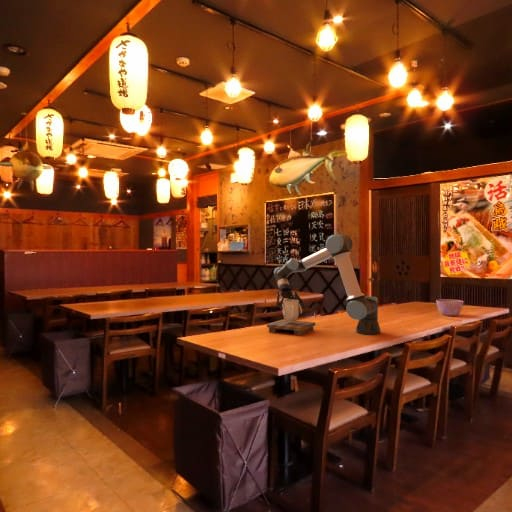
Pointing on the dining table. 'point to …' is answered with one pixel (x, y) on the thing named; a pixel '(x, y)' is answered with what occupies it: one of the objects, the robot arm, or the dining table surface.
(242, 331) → the dining table surface
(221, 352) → the dining table surface
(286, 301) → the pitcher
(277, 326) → the serving board
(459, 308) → the purple bowl
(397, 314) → the dining table surface
